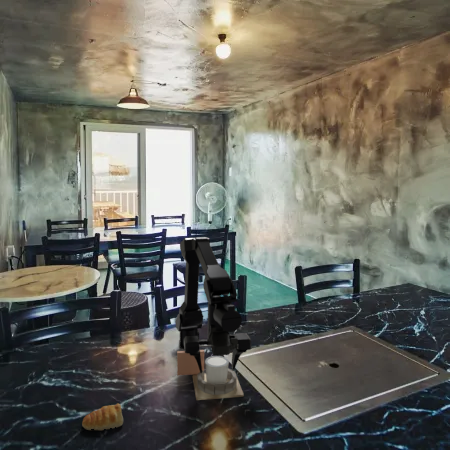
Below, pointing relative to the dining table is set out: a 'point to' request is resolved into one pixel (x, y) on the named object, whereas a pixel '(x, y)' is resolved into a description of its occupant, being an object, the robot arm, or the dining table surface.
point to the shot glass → (216, 369)
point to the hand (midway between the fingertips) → (217, 371)
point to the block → (188, 363)
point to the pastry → (104, 418)
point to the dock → (216, 387)
